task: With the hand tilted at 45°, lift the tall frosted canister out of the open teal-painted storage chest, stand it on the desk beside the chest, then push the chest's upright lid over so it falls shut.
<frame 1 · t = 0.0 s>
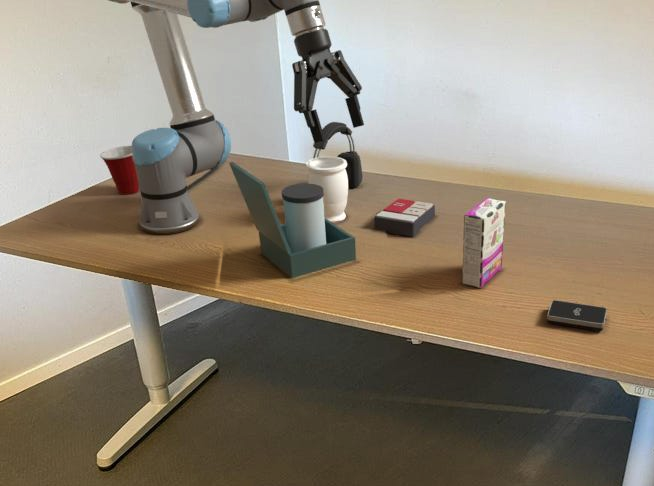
hand: (340, 134, 160), 28 cm above the table, tool tilted 20°, fingers open, 13 cm apart
chest lid: (260, 207, 158), point 15 cm above the table, hinge at 105.1°
canister: (307, 255, 171), point 1 cm above the table, touching chest
plastic cup: (128, 191, 212), on the table
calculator: (405, 223, 188), on the table
chest: (308, 258, 171), on the table
headphones: (336, 195, 206), on the table
candy bar box: (481, 277, 162), on the table
external hard drive: (576, 321, 145), on the table
jar: (330, 218, 192), on the table
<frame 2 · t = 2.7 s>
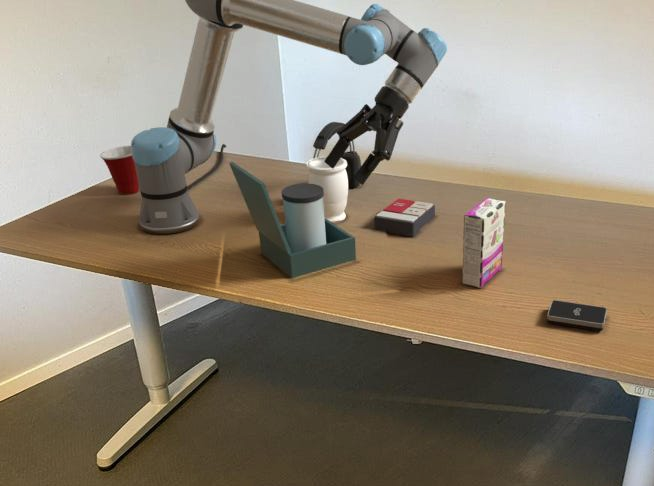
hand: (342, 173, 165), 19 cm above the table, tool tilted 45°, fingers open, 13 cm apart
nothing on the table moved.
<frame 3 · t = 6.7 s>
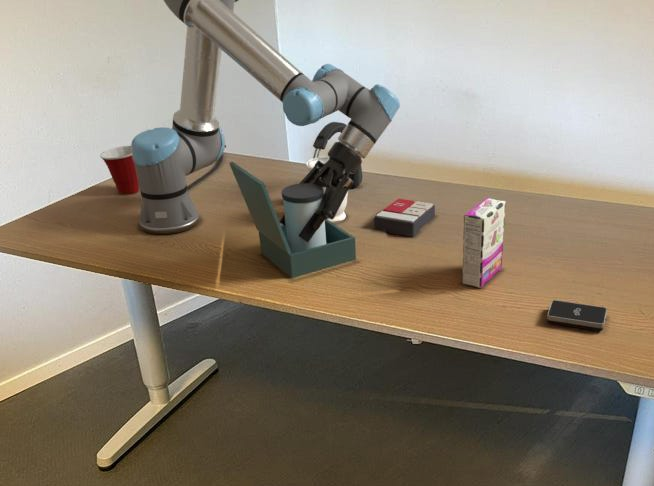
hand: (293, 232, 166), 8 cm above the table, tool tilted 45°, fingers closed on canister, 9 cm apart
canister: (308, 255, 171), point 1 cm above the table, touching chest, gripper
everything else where it was.
when the fingers open (7 cm above the table, at t = 16.1 s): canister stays where it is, on the table.
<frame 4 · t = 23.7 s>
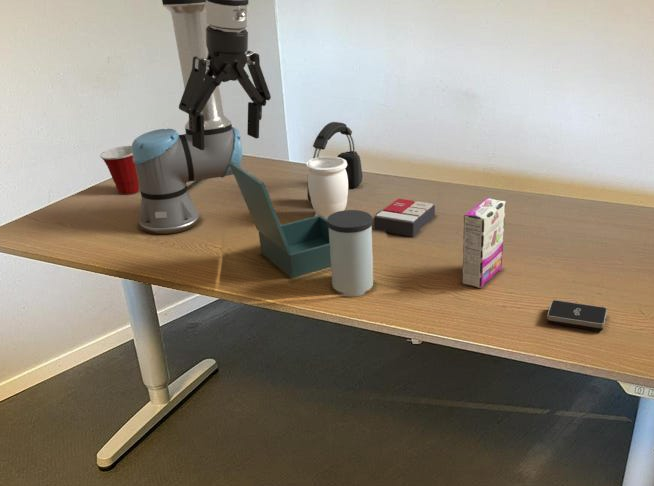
hand: (226, 142, 143), 32 cm above the table, tool pointing down, fingers open, 13 cm apart
canister: (352, 286, 159), on the table
everything else where it was.
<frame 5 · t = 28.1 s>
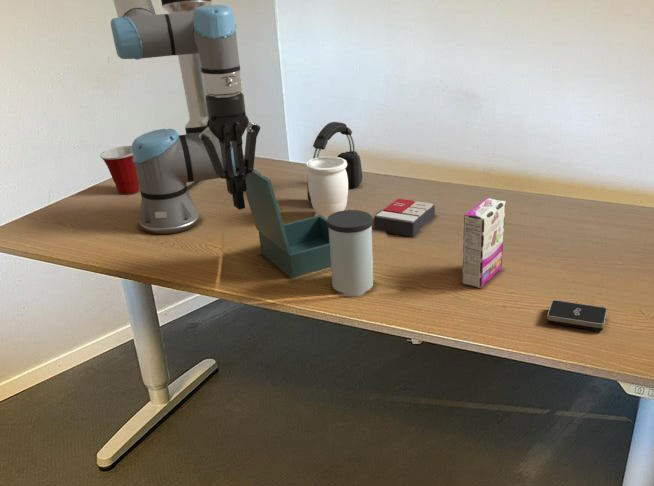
hand: (239, 206, 155), 16 cm above the table, tool pointing down, fingers closed
chest lid: (263, 206, 158), point 15 cm above the table, hinge at 100.1°, touching gripper
everything else where it was.
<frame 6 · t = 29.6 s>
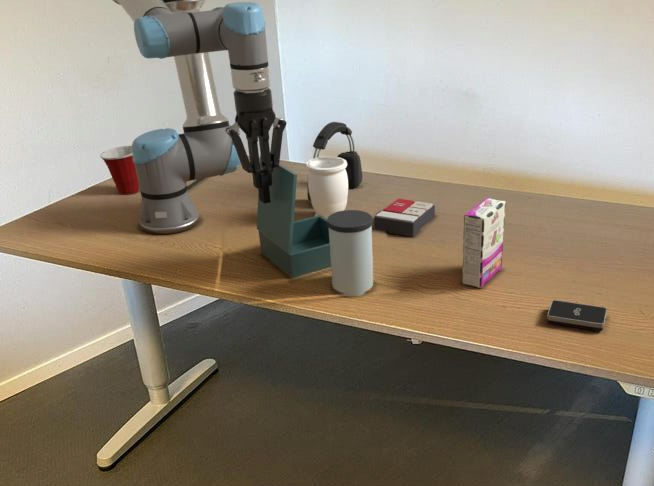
hand: (265, 201, 158), 16 cm above the table, tool pointing down, fingers closed
chest lid: (275, 203, 160), point 15 cm above the table, hinge at 79.9°
everything else where it was.
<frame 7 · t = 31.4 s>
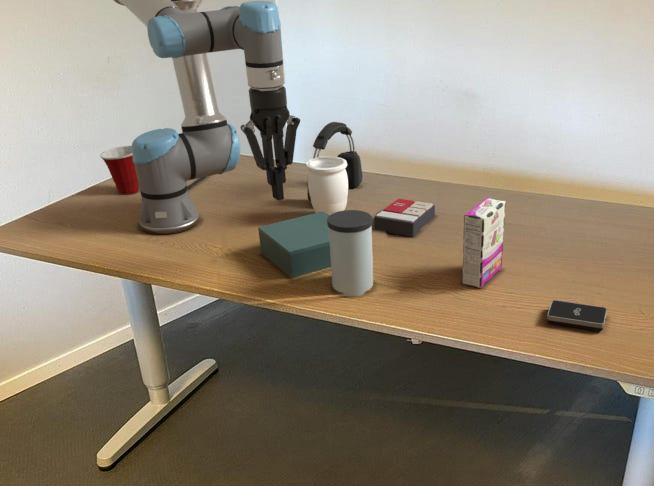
hand: (278, 197, 159), 16 cm above the table, tool pointing down, fingers closed
chest lid: (307, 231, 168), point 7 cm above the table, hinge at -0.1°
everything else where it was.
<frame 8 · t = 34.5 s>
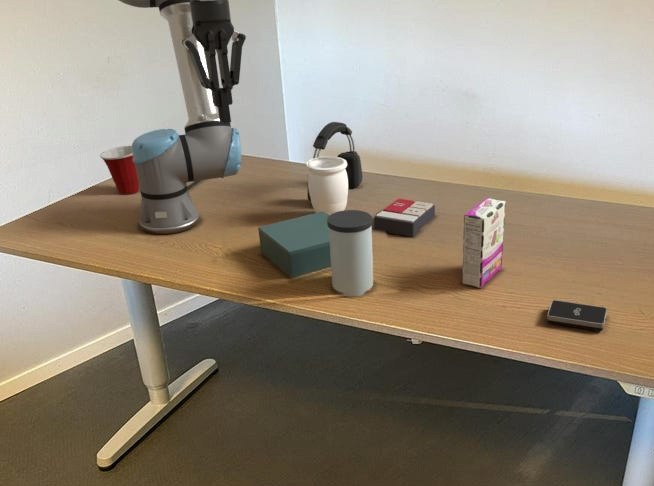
hand: (225, 121, 153), 32 cm above the table, tool pointing down, fingers closed
nothing on the table moved.
at the end: canister inside the target area (0.1 cm from its centre), on the table; canister tilted 0°; chest lid at +0° (first picture: +105°) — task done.
